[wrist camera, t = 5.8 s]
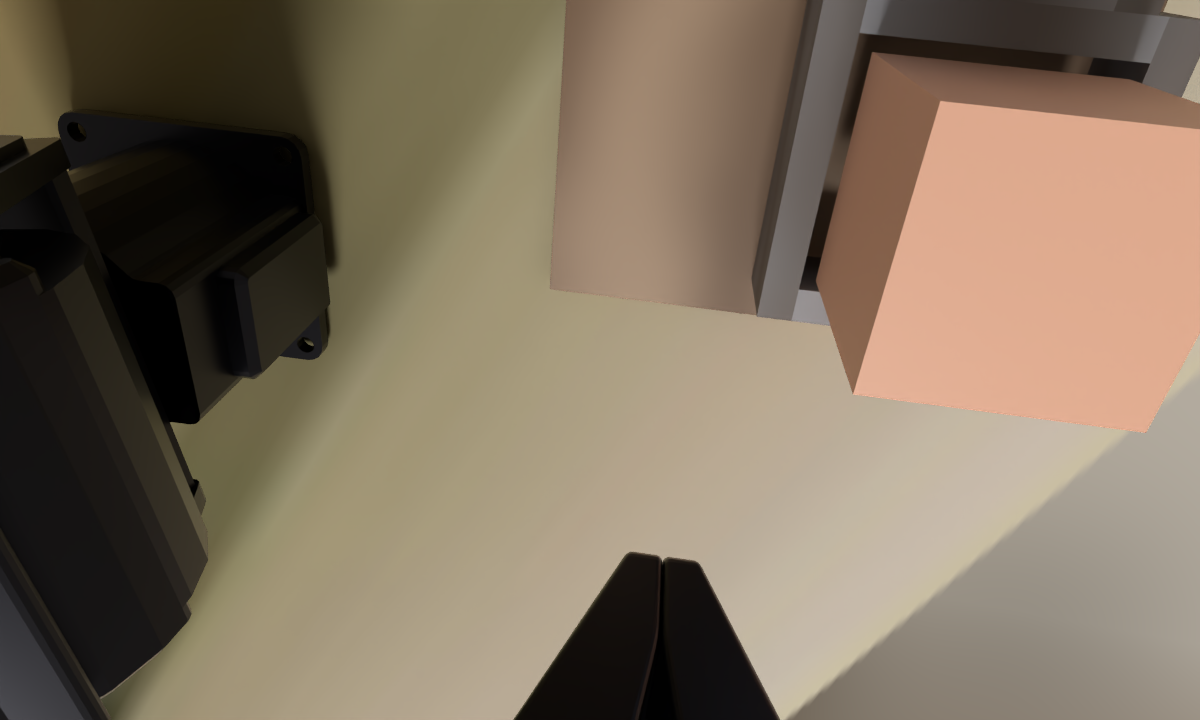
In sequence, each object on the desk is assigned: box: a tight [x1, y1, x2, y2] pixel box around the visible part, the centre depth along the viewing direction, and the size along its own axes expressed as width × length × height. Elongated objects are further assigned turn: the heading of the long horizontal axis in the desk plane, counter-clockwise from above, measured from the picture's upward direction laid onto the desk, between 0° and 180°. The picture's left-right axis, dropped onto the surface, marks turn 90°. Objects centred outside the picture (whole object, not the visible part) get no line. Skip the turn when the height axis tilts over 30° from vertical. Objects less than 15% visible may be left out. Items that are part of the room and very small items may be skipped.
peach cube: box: [816, 52, 1200, 433], centre depth 14 cm, size 5×5×5 cm
